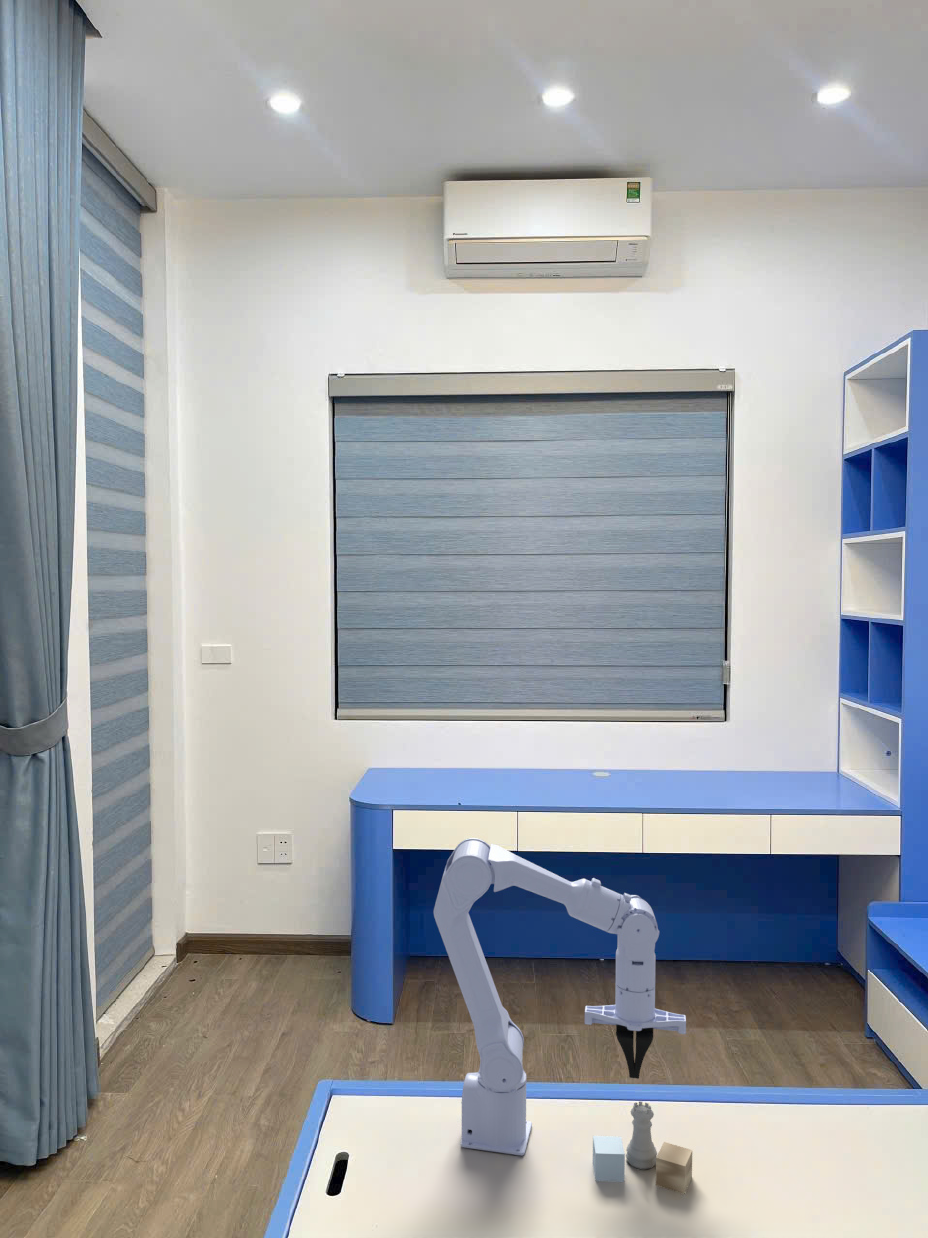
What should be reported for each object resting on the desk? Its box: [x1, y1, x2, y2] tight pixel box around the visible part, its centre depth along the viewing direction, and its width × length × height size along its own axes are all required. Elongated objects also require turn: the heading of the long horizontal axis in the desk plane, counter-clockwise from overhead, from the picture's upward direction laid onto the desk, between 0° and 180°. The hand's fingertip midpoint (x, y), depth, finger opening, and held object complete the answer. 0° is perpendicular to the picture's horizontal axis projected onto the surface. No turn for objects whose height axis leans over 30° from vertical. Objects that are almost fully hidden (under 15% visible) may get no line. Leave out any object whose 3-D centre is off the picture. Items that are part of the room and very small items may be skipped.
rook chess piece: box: [625, 1101, 658, 1170], centre depth 131 cm, size 4×4×8 cm
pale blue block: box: [592, 1135, 626, 1183], centre depth 129 cm, size 4×4×4 cm
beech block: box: [655, 1141, 693, 1195], centre depth 127 cm, size 4×4×4 cm
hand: (634, 1074), depth 135 cm, fingers closed
